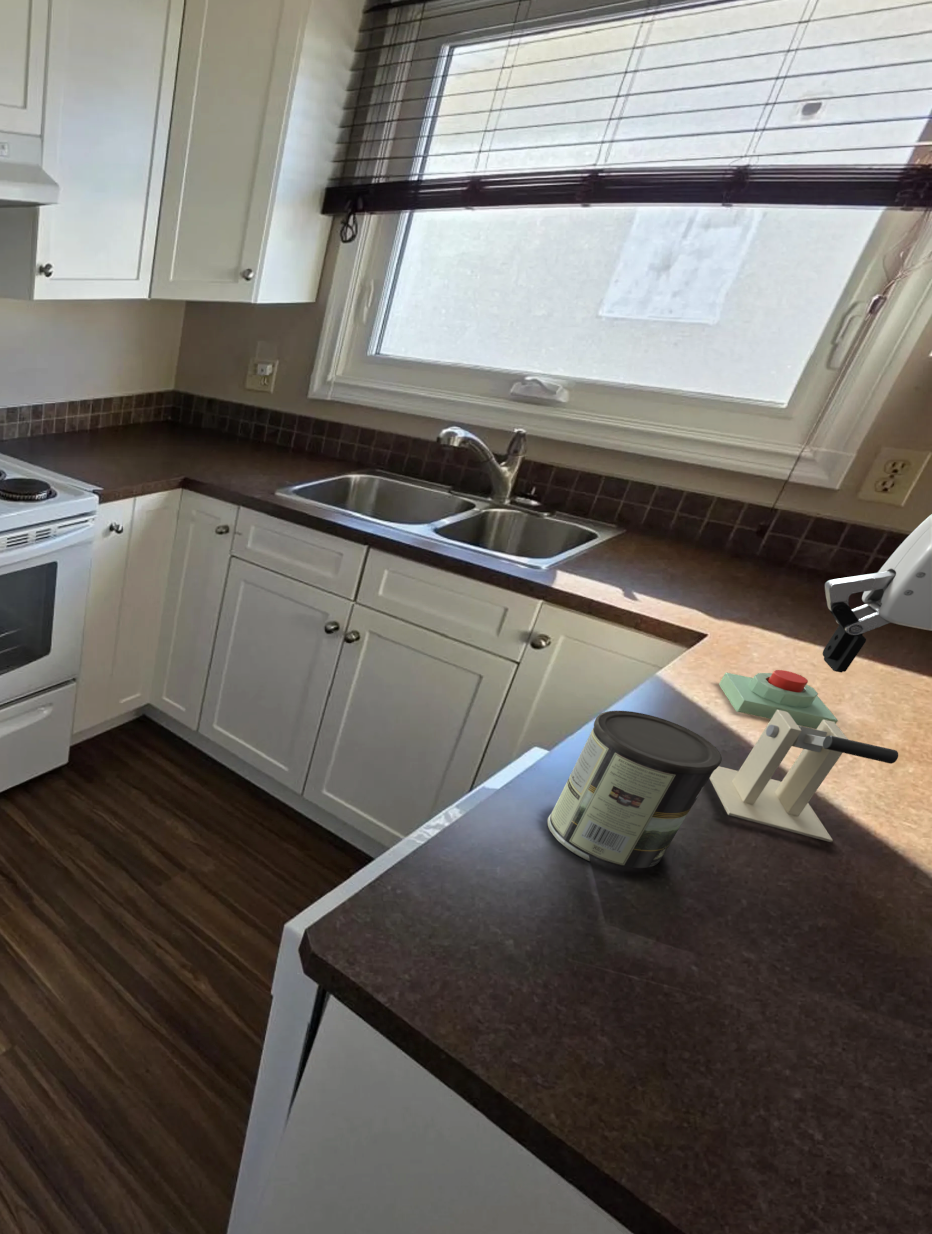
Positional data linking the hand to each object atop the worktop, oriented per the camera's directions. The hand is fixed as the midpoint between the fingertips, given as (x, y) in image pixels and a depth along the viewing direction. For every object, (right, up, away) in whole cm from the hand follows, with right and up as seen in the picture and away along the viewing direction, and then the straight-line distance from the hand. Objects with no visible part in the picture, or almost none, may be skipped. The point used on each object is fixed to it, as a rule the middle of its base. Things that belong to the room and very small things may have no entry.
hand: (898, 679), depth 76 cm
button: (+25, -3, +35) cm, 43 cm away
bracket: (+3, -16, +16) cm, 23 cm away
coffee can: (-21, -19, +11) cm, 30 cm away
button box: (+25, -6, +36) cm, 45 cm away
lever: (+1, -8, +8) cm, 12 cm away
